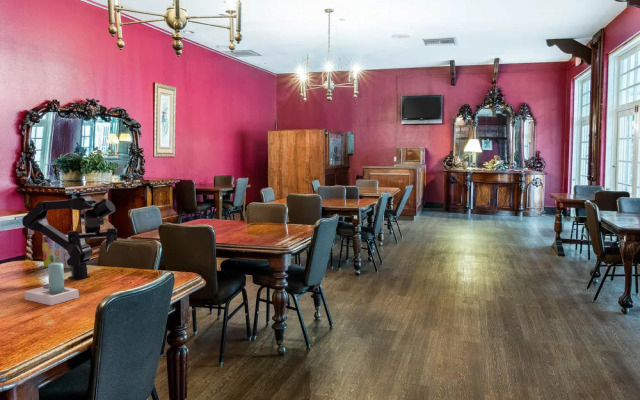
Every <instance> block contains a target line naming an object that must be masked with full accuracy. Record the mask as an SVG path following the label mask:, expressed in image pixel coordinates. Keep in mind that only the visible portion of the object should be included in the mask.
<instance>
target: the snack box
mask: <svg viewBox="0 0 640 400" xmlns="http://www.w3.org/2000/svg"><path fill="white" fill-rule="evenodd" d="M65 235H66V236H67V237H68V234H65ZM41 236H42V237H41V239H42V240H41V241H42V242H41V243H42V259H43V261H42V262H43V263H42V264H43V267H45V268H48V264H51V263H63V267H64V269H69V270H71V266H68V264H67V262H66V261H67V260H68V259H69V258H70V256H69V254H68V252H67V250H66V249H64V248H63V247H61V246H60V245H58V244H57V243H55V242H54V241H52V240H51V239H49V238H48V237H46V236H45V235H41ZM85 239H86V238H83V239H80V241H84V242H85V243H86V240H85Z"/></svg>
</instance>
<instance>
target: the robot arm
mask: <svg viewBox="0 0 640 400" xmlns="http://www.w3.org/2000/svg"><path fill="white" fill-rule="evenodd" d="M64 209H67V210H68V209H69V210H73V211H83V212H82V213H81V214H80V215H79V217H80V218H81V219H84V232H83V233H79V230H69V231H68V232H67V234H64V233H63V232H61V230H60V231H59V230H58V229H57V228H55V227H54V226H52V225H51V224H49V222H48V219H47V218H46V217H47V216H48V214H49V211H50V210H64ZM115 212H116V206H115V204H114V203H113V202H112V201H111V200H109V199H108V198H107V197H105V198H102V199H101V200H100V201H97V200H95V199H93V197H92V196H90V195H83V196H77V197H74V198H70V199H62V200H61V199H60V200H44V201H43V200H42V201H39V202H37V203H36V205H35V206H34V207H33V208H32V209H31V210H30V211H28V212H27V214H26V215H24V216H23V217H22V219H21V221H22V225H23V227H24V228H26V229H28V230H30V231H33V232H39V233H40V234H42V236H44V235H45V236H46V237H48V238H49V239H51V240H52V241H54V242H55V243H57V244H58V245H60V246H61V247H63V248H64V249H66V250H67V252H68V254H69V256H70V258H69V259H68V260H67V261H66V262H67V264H68V266H71V269H70V271H71V275H70V276H68V277H67V279H71V280H72V279H73V280H77V281H78V280H82V279H86V278H90V277H91V275H89V274H88V264H87V263H89V262H90V260H91V258H92V257H93V249H92V248H91V245H90V244H88V243H86V241H85V242H84V241H80V239H83V238H85V239H102V238H106V239H105V253H107V252H108V250H109V247H110V246H111V244H112V243H114V242H116V241H117V240H118V229H117V228H115V227H113V228H106V231H104V232H101V226H104V225H105V224H104V223H105V221H104V218H106V217H108V216H110V215H112V214H113V213H115ZM66 235H68V237H67V236H66Z"/></svg>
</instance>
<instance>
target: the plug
mask: <svg viewBox="0 0 640 400" xmlns="http://www.w3.org/2000/svg"><path fill="white" fill-rule="evenodd" d="M47 269H48V276H47V277H48V285H49V294H50V295H56V294H60V293H64V287H65V279H64V278H65V276H64V275H65V272H64V271H65V270H64V269H65V268H64V267H63V263H51V264H48V267H47Z"/></svg>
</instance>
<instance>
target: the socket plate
mask: <svg viewBox="0 0 640 400" xmlns="http://www.w3.org/2000/svg"><path fill="white" fill-rule="evenodd" d="M23 292H24V294H23V295H24V300H26V301H31V302H36V303H39V304H43V305H48V306H54V305H57V304H58V305H59V304H60V303H64V302H69V301H72V300H76V299H80V296H79V295H80V293H79V289H76V288H72V287H67V286H64V293H60V294H56V295H50V294H49V284H47V285H43V286H41V287H37V288H32V289H28V290H24V291H23Z"/></svg>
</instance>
